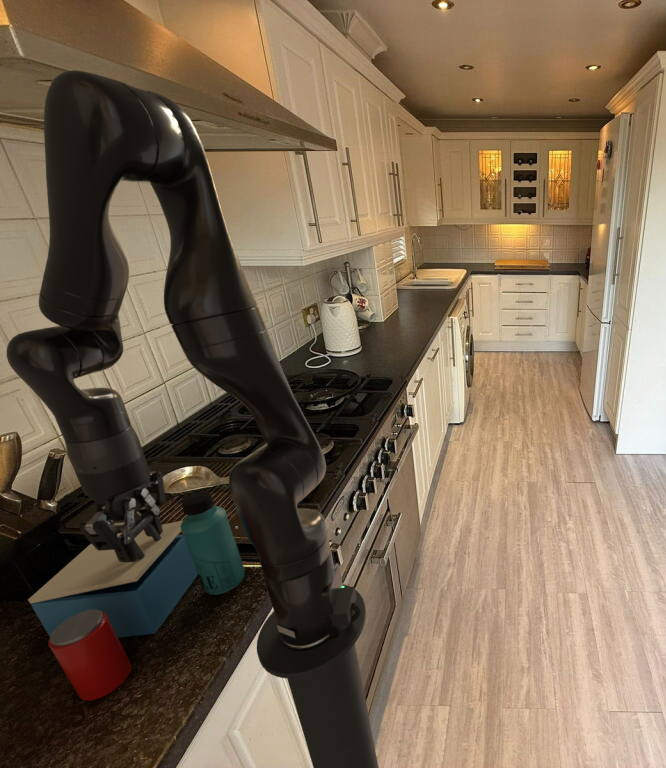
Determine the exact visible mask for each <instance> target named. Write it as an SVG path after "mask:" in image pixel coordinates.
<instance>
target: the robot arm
mask: <svg viewBox="0 0 666 768" xmlns="http://www.w3.org/2000/svg"><path fill="white" fill-rule="evenodd" d="M44 100H45V101H44V109H43V138H44V159H45V160H44V161H45V181H46V195H47V208H48V221H49V240H48V241H49V243H48V250H47V258H46V263H45V267H44V272H43V276H42V281H41V284H40V285H41V286H40V291H39V294H38V295H39V296H38V308H39V310H40V313H41V314H42V316H43V317H44V318H46V319H47V320H48V321H50V322H51V323H53V324H55V326H49V327H44V328H39V329H33V330H28V331H24V332H21V333H17V334H16V335H15V336H13V337H11V339H10V340H9V342H8V344H7V346H6V350H5V351H6V359H7V362H8V364H9V366H10V367H11V369H12V370H13V372H15V374H16V375H17V376H18V377H19V378H20V379H21V380H22V381H23V382H24V383H25V384H26V385H27V386H28V387H29V388H30V389H31V390H32V391H33V392H34V394H35V395H36V396H37V397H38V398H39V399H40V401H42V402H43V404H44V405H45V406H46V407H47V408H48V410H49V411H50V413H51V414H52V415H53V417H54V419H55V421H56V424H57V427H58V429H59V432H60V433H61V435H62V438H63V441H64V443H65V449H66V453H67V456H68V459H69V461H70V464H71V466H72V468H73V470H74V473H75V476H76V477H77V480H78V482H79V485H80V487H81V489H82V492H83V494H84V495H85V496H87V497H88V498H90V500H91V499H92V501H94V512H95V514H94V515H93V517H91V518H90V520H89V521H87V520H86V521H82V522H80V524H79V526H78V529H79V531H80V532H81V533H82V534H83V536H84V537H85V538H86V540H88V541H89V542H90V544H91V543H92V545H93V546H94V547H95V548H96V549H97V550H98V551H101V550H114V551H115V553H116V555H117V557H118V560H119V561H120V562H135V561H136V560H137V559H138V558H139V554H138V552H137V549H136V546H135V544H134V541H133V540H132V535H131V528H132V527H133V526H134V525H135V521H136V519H135V515H136V514H137V515H138V516H139V517H140V516H141V515H142V514H144V513H148V514H151V515H152V516H153V521H152V524H153V525H154V527H155V529H156V530H157V532H158V533H159V535H160V534H161V533H162V532H163V530H162V525H163V524H162V522H161V519H160V516H159V514H160V512H161V506H165V504H166V503H167V502H166V501H167V499H166V493H165V486H164V476H163V472H162V471H151V470H150V467H149V464H148V462H147V459H146V456H145V453H144V450H143V447H142V445H141V442H140V439H139V436H138V434H137V432H136V431H135V429H134V427H133V425H132V423H131V420H130V417H129V414H128V411H127V409H126V408H127V407H126V406H125V403H124V400H123V398H122V395H121V394H120V393H119V392H118V391H117V390H116V389H113V388H111V387H89V388H82V389H81V388H80V387H78V386H77V384H76V383H75V379H78V378H82V377H85V376H88V375H93V374H95V373H98V372H102V371H105V370H107V369H110V368H111V367H113V366H115V364H117V363H118V361H119V360H120V359H121V357H122V356H123V353H124V342H123V336H122V327H121V321H120V311H121V308H122V305H123V302H124V298H125V295H126V292H127V289H128V287H129V286H128V285H129V282H130V265H129V262H128V258H127V256H126V253H125V251H124V250H123V247H122V245H121V243H120V242H119V240H118V237H117V235H116V234H115V232H114V229H113V228H112V224H111V221H110V215H109V212H110V205H111V201H112V199H113V195H114V194H115V191H116V190H117V187H118V185H119V184H120V182H132V183H140V184H149V185H150V187H151V189H153V192H154V194H155V196H156V198H157V200H158V202H159V205H160V207H161V210H162V214H163V215H164V219H165V221H166V224H167V228H168V231H169V239H170V240H169V241H170V245H169V246H170V247H169V256H168V257H169V258H168V261H167V267H166V274H165V278H164V287H163V308H164V311H165V315H166V317H167V320H168V323H169V324H170V327H171V329H172V332H173V333H174V335H175V338H176V339H177V341H178V344H179V346H180V348H181V350H182V352H183V354H184V356H185V358H186V359H187V361H188V363H189V364H190V365H191V366H192V367H193V369H195V371H197V372H198V373H199V374H200V375H201V376H203V377H204V378H205V379H207V380H208V381H209V382H211V383H212V384H213V385H215V386H216V387H218V388H219V389H221V390H222V391H224V392H226V394H228V395H230V396H232V397H233V398H234V399H236V400H237V401H238V402H240V403H241V404H242V405H243V406H244V407H245V408H246V409H247V410H248V411H249V413H250V414H251V416H252V417H253V419H254V421H255V423H256V425H257V427H258V429H259V431H260V434H261V436H262V439H263V442H264V444H263V445H262V446H261V447H259V448H257V449H256V450H254V451H253V452H252V453H250V454H249V455H247V456H246V457H244V458H243V459H241V460H239V461H238V462H237V463H235V464H234V465H233V467H232V469H231V470H230V472H229V476H228V488H229V493H230V496H231V499H232V502H233V505H234V507H235V510H236V513H237V515H238V517H239V520H240V523H241V526H242V528H243V531H244V534H245V536H246V537H247V540H248V541H249V542H250V543H251V545H252V546H253V547H254V549H255V550H256V553H257V556H258V560H259V563H260V564H259V565H260V567H261V570H262V574H263V578H264V581H265V585H266V589H267V592H268V596H269V599H270V602H271V606H272V609H273V611H274V613H275V616H276V620H277V623H278V625H277V627H278V631H279V632H280V636H281V640H282V642H283V644H284V645H285V646H286V647H287V648H288V649H290V650H294V651H306V650H310V649H314V648H316V647H318V646H320V645H322V644H324V643H325V642H327V641H328V640H329V639H332V638H337V637H338V635H339V632H340V628H341V626H343V625H349V624H352V623H353V622H354V621H355V620H356V619H357V618H358V617H359V616H360V613H361V610H360V608H359V606H357V605H356V604H355V601H356V592H355V590H356V587H355V586H353V585H352V586H350V587H344V586H343V584H344V583H343V579H342V578H343V577H342V574H341V569H340V568H341V567H340V565H339V563H338V562H334V560H333V559H334V558H333V554H332V548H331V544H330V539H329V535H328V528H327V523H326V519H325V517H324V515H323V514H322V513H321V512H320V511H318V510H316V509H313V508H309V507H298V504H300V503H301V502H302V501H303V500H304V499H305V498H307V496H308V495H309V494H310V493H312V492H313V490H315V489H316V488H317V487H318V486H319V484H320V483H321V482H322V481H323V479H324V477H325V475H326V471H327V462H326V458H325V455H324V451H323V449H322V447H321V445H320V443H319V441H318V439H317V437H316V435H315V433H314V431H313V429H312V428H311V425H310V424H309V422H308V419H307V418H306V417H305V415H304V412H303V411H302V409H301V407H300V405H299V402H298V401H297V399H296V398H295V394H294V393H293V391H292V389H291V386H290V383H289V381H288V379H287V376H286V375H285V372H284V369H283V367H282V365H281V363H280V361H279V358H278V356H277V353H276V351H275V348H274V344H273V343H272V339H271V336H270V334H269V331H268V329H267V326H266V323H265V321H264V319H263V316H262V313H261V311H260V308H259V306H258V303H257V301H256V298H255V296H254V294H253V292H252V290H251V287H250V285H249V283H248V280H247V278H246V275H245V272H244V270H243V267H242V264H241V261H240V258H239V256H238V253H237V250H236V248H235V245H234V242H233V240H232V237H231V234H230V231H229V228H228V226H227V222H226V218H225V215H224V213H223V209H222V206H221V203H220V198H219V195H218V191H217V186H216V185H215V184H216V183H215V180H214V177H213V173H212V170H211V166H210V164H209V163H210V162H209V159H208V156H207V153H206V150H205V148H204V144H203V141H202V139H201V137H200V134H199V131H198V129H197V128H196V126H195V124H194V123H193V121H192V120H191V118H190V116H189V115H188V113H187V112H186V111H185V110H184V109H183V108H182V107H181V106H180V105H179V104H178V103H176V102H175V101H174V100H172V99H171V98H168V97H167V96H166V95H165V96H164V95H162V94H161V93H158V92H155V91H151V90H148V89H146V88H143V87H139V86H136V85H134V84H129V83H126V82H122V81H120V80H116V79H113V78H110V77H107V76H103V75H100V74H97V73H92V72H88V71H82V70H67V71H62V72H61V73H60V74H58V75H56V77H54V78H53V80H52V81H51V82H50V85H49V87H48V89H47V92H46V96H45V99H44ZM153 494H155V495H156V498H154V497H153ZM116 521H117V522H116ZM118 521H120V522H118ZM121 521H124V522H121ZM118 531H121V533H122V536H117V534H118ZM144 531H145V534H146V536H148V537H152V536H151V535H150V533H149V532H148V530H147V528H145V529H144ZM353 610H354V611H355V614H354V615H353V616H352V613H353Z"/></svg>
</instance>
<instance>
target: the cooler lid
mask: <svg viewBox="0 0 666 768" xmlns="http://www.w3.org/2000/svg"><path fill="white" fill-rule="evenodd" d="M152 521H153V516H152V515H151V514H148V513H144V514H142V515H141V516H139V517H138V518H137V519H135V525H134V526H133V527H132V528H131V535H132V540H133V541H134V544H135V546H136V549H137V552H138V554H139V558H138V559H137V560H136V561H135V562H120V561H119V560H118V557H117V555H116V553H115V551H114V550H101V551H98V550H97V549H96V548H95V547H94V546H93V545H92V543H91V542H90V544H89V545H88V546H87V547H85V548H84V549H83V550H82V551H81V552H80V553H78V555H76V556H75V557H74V558H73V559H72V560H71V561H70V562H68V563H67V564H66V565H65V566H64V567H63V568H62V569H61V570H60V571H58V573H56V574H55V575H54V576H53V577H52V578H50V579H49V580H48V581H47V582H46V583H45V584H44V585H43V586H42V587H40V588H39V589H38V590H37V591H36V592H35V593H34V594H33V595H31V596H30V597H29V598H28V599H27V601H28V602H29V604H31V603H36V602H41V601H45V600H50V599H55V598H60V597H64V596H69V595H74V594H78V593H83V592H88V591H93V590H97V589H102V588H107V587H112V586H116V585H121V584H126V583H130V582H135V581H138V580H139V578H140V577H141V576H142V575H143V574H144V573H145V572H146V570H147V569H148V568H149V567H150V566H151V565H152V564H153V563H154V561H155V560H156V559H157V558H158V557H159V556H160V555H161V553H162V552H163V551H164V550H165V549H166V548H167V547H168V545H169V544H170V543H171V542H172V541H173V540H174V539H175V538H176V536H177V535H180V533H181V532H182V530H181V523H182V522H183V520H179V521H173V522H170V523H163V524H162V530H163V532H162V533H161V534H160V535H159V533H158V532H157V530H156V529H155V527H154V525H153V524H152ZM145 528H147V530H148V532H149V533H150V535H151V536H152V537H148V536H146V534H145V531H144V529H145ZM117 536H122V532H120V533H117Z"/></svg>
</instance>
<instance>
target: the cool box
mask: <svg viewBox="0 0 666 768" xmlns="http://www.w3.org/2000/svg"><path fill="white" fill-rule="evenodd" d="M187 548H188V544H187V542H186V539H185V536H184V534H178V535H177V536H176V538H175V539H174V540H173V541H172V542H171V543H170V544H169V545H168V547H167V548H166V549H165V550H164V551H163V552H162V553H161V555H160V556H159V557H158V558H157V559H156V560H155V561H154V563H153V564H152V565H151V566H150V567H149V568H148V569H147V570H146V572H145V573H144V574H143V575H142V576H141V577H140V578H139V580H138V581H135V582H130V583H126V584H121V585H116V586H112V587H107V588H102V589H97V590H93V591H88V592H83V593H78V594H74V595H69V596H64V597H60V598H55V599H50V600H45V601H41V602H36V603H30V606H31V607H32V609H33V611H34V613H35V615H36V616H37V618H38V619H39V621H40V623H41V625H42V626H43V628H44V630H45V632H46V633H47V635H48V637H50V636H51V634H52V632H53V631H54V630H55V629H56V627H58V626H59V625H60V624H61V623H62V622H64V621H65V620H67V619H68V618H70V617H72V616H74V615H76V614H78V613H81V612H84V611H88V610H99V611H102V612H104V613H106V615H107V617H108V619H109V621H110V623H111V625H112V627H113V629H114V631H115V633H116V635H117V637H118V639H120V638H128V637H137V636H147V635H155V634H157V633H158V631H159V629H160V628H161V627H162V625H163V624H164V623H165V621H166V620H167V618H168V617H169V616H170V614H171V613H172V611H173V610H174V609H175V607H176V606H177V604H178V603H179V602H180V600H181V599H182V598H183V596H184V595H185V593H186V592H187V590H189V588H190V587H191V585H192V584H193V583H194V581H195V579H196V578H198V576H199V574H198V572H197V569H196V566H195V564H194V561H193V558H192V556H191V553H189V552H190V550H189V548H188V549H187ZM188 550H189V551H188ZM196 572H197V573H196Z"/></svg>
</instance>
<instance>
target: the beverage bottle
mask: <svg viewBox="0 0 666 768" xmlns="http://www.w3.org/2000/svg"><path fill="white" fill-rule="evenodd" d="M181 505H182V511H183V514H184V515H185V518H183V520H182V521H183V522H182V523H181V530H182V531H181V532H182V535H184V536H185V539H186V542H187V544H188V548H189V550H190V552H189V553H191V556H192V558H193V561H194V564H195V566H196V569H197V572H198V576H197V578H198V580H199V583H200V585H201V587H202V589H203V591H204V592H206V593H207V594H208V595H213V596H215V595H216V596H217V595H221V594H222V595H223V594H225V593H228V592H229V591H232V590H233V589H235V588H236V587H237V586H239V585H240V583H241V582H242V581H243V580H244V578H245V574H246V570H245V565H244V562H243V559H242V556H241V553H240V552H241V551H240V549H239V547H238V545H237V542H236V539H235V537H234V535H233V532H232V529H231V525H230V522H229V519H228V515H227V510H226V509H225V508H223V507H221V506H217V505H215V500H214V498H213V496H212V493H211V492H210V491H207V490H200V491H195V492H192V493H190V494H188V495H187V496H185V497H184V498H183V499H182V500H181ZM188 548H187V549H188ZM189 550H188V551H189ZM197 572H196V573H197Z"/></svg>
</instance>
